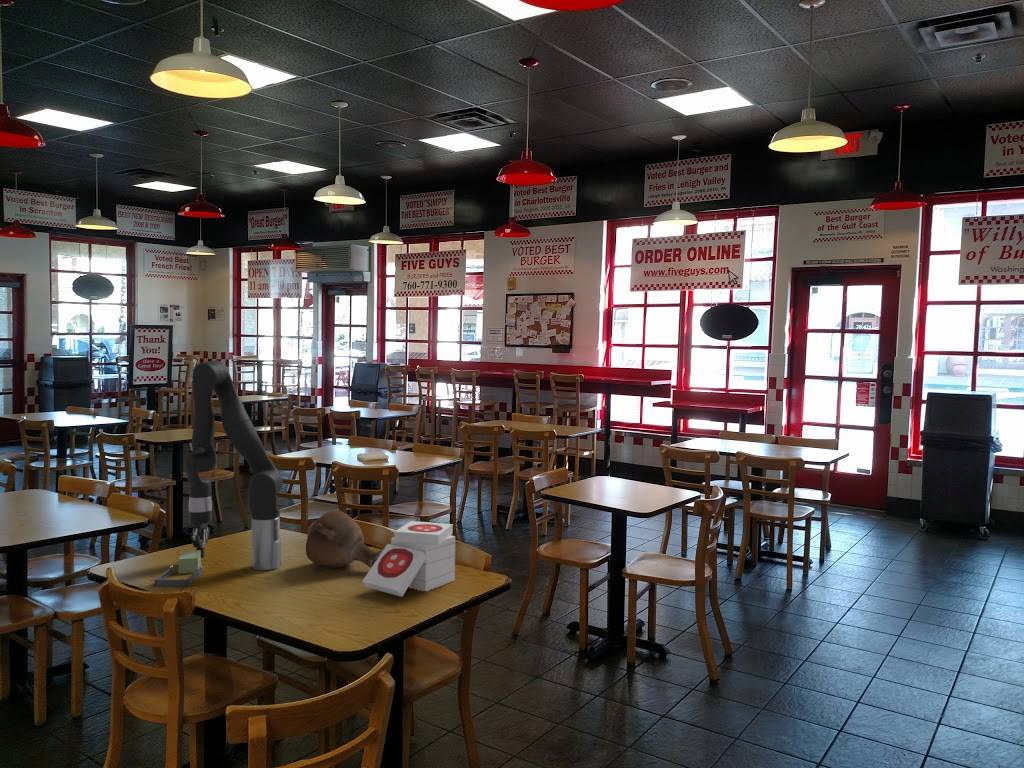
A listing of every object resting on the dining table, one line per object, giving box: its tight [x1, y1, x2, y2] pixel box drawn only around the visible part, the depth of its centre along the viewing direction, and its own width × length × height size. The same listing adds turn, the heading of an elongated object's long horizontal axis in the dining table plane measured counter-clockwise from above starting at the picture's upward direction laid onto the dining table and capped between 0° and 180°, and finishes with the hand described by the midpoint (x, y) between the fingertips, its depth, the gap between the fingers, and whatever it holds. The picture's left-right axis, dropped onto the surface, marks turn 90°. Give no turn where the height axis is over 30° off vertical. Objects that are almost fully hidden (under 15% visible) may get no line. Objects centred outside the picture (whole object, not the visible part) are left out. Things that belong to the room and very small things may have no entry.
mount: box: [154, 565, 203, 587], centre depth 250 cm, size 11×14×3 cm
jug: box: [305, 509, 384, 569], centre depth 266 cm, size 20×20×30 cm
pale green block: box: [178, 549, 202, 575], centre depth 262 cm, size 6×10×5 cm, turn 17°
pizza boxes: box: [362, 520, 456, 597], centre depth 248 cm, size 19×30×18 cm, turn 146°
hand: (200, 557), depth 270 cm, fingers closed
